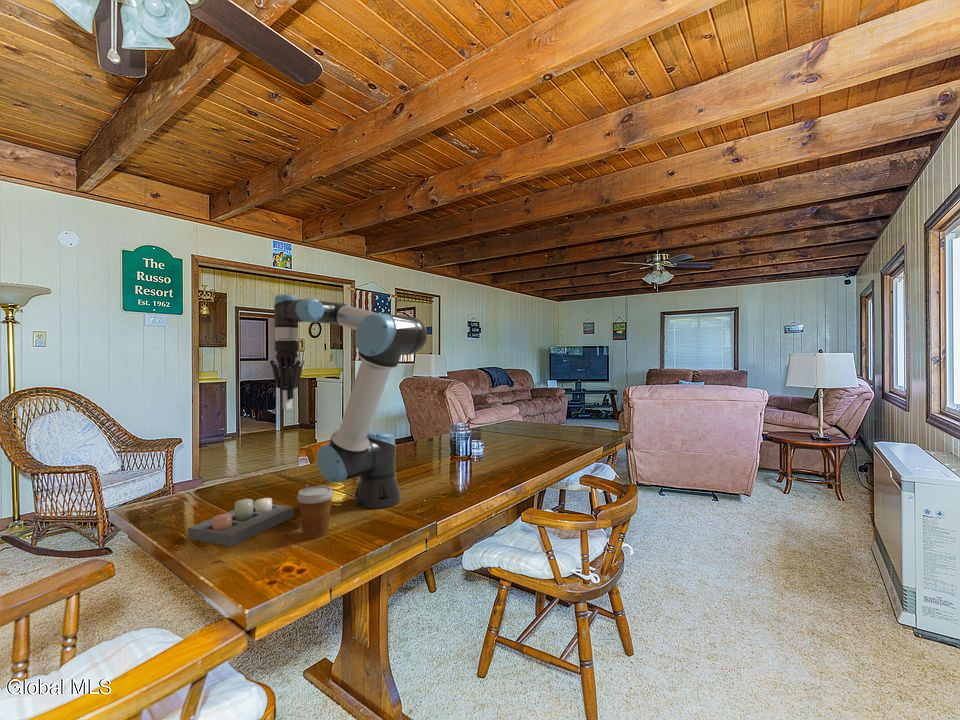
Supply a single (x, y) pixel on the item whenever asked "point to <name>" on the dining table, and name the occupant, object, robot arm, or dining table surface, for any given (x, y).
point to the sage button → (243, 509)
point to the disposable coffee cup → (315, 510)
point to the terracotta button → (222, 522)
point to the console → (241, 526)
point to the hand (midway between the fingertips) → (287, 408)
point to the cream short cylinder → (263, 505)
